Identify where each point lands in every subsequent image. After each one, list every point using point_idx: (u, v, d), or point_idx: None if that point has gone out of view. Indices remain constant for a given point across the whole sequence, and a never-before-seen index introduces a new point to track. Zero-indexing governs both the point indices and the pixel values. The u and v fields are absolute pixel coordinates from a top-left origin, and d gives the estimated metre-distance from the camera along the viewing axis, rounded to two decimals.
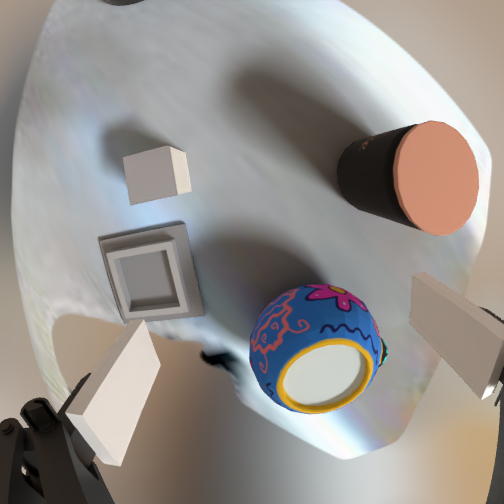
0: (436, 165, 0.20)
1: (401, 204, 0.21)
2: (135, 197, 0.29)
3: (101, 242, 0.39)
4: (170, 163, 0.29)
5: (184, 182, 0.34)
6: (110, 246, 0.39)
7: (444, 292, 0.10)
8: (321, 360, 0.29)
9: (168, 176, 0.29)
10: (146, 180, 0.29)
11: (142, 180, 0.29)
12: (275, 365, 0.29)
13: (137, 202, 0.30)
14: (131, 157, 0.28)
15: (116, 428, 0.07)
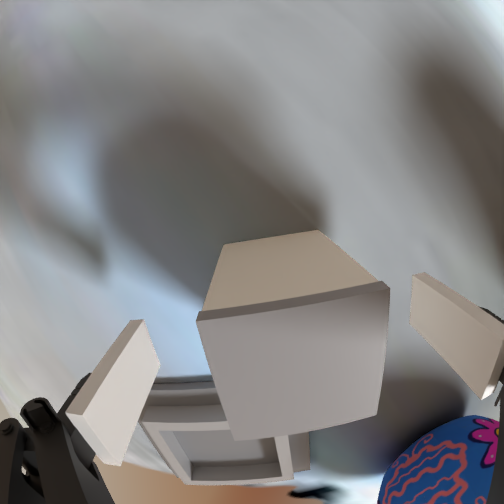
0: None
1: None
2: (252, 428, 0.09)
3: None
4: (383, 345, 0.08)
5: None
6: None
7: (444, 292, 0.10)
8: None
9: (368, 380, 0.08)
10: (293, 394, 0.08)
11: (280, 394, 0.08)
12: None
13: (258, 436, 0.09)
14: (237, 325, 0.08)
15: (116, 428, 0.07)
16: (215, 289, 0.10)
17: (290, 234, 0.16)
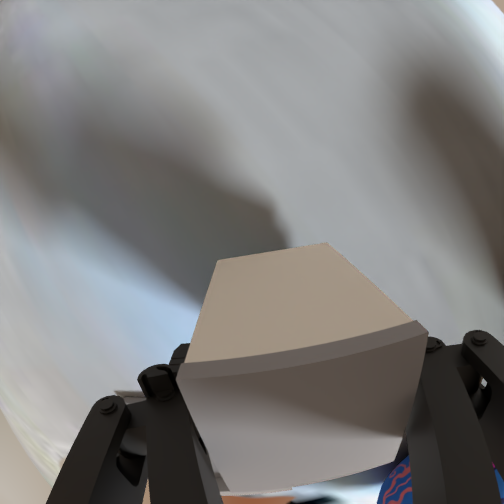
0: None
1: None
2: (250, 482, 0.07)
3: None
4: (412, 395, 0.06)
5: None
6: None
7: None
8: None
9: (390, 431, 0.06)
10: (300, 452, 0.06)
11: (285, 453, 0.06)
12: None
13: (257, 489, 0.07)
14: (230, 386, 0.05)
15: None
16: (204, 327, 0.08)
17: (295, 248, 0.14)
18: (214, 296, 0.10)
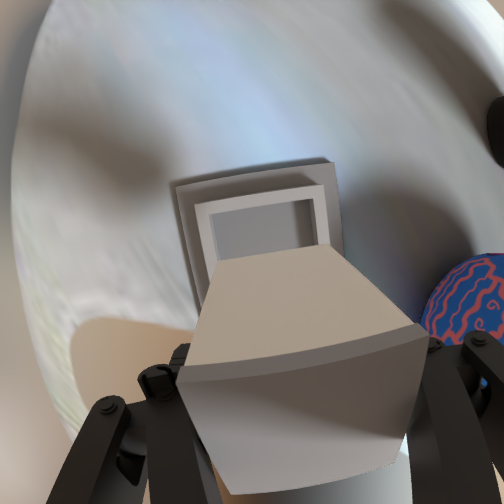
0: None
1: None
2: (251, 484, 0.07)
3: (179, 189, 0.24)
4: (413, 398, 0.06)
5: None
6: (197, 195, 0.24)
7: None
8: None
9: (391, 433, 0.06)
10: (301, 454, 0.06)
11: (285, 455, 0.06)
12: None
13: (258, 491, 0.07)
14: (230, 389, 0.05)
15: None
16: (204, 329, 0.08)
17: (295, 249, 0.14)
18: (214, 298, 0.10)
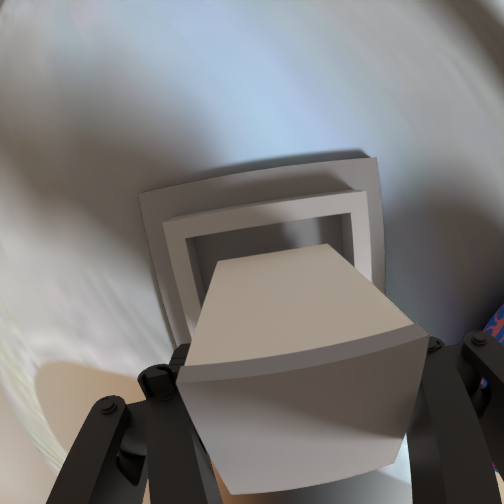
0: None
1: None
2: (251, 484, 0.07)
3: (143, 197, 0.15)
4: (412, 398, 0.06)
5: None
6: (170, 205, 0.15)
7: None
8: None
9: (391, 433, 0.06)
10: (301, 454, 0.06)
11: (285, 455, 0.06)
12: None
13: (258, 491, 0.07)
14: (230, 389, 0.05)
15: None
16: (204, 329, 0.08)
17: (295, 249, 0.14)
18: (214, 298, 0.10)
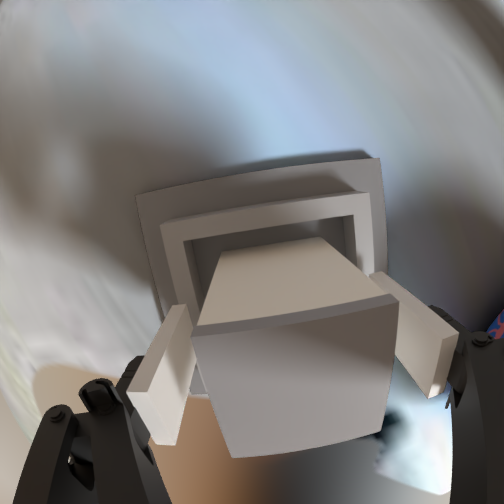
0: None
1: None
2: (250, 445, 0.08)
3: (140, 198, 0.15)
4: (390, 361, 0.07)
5: None
6: (168, 207, 0.15)
7: (395, 291, 0.11)
8: None
9: (374, 396, 0.08)
10: (294, 412, 0.08)
11: (280, 412, 0.08)
12: None
13: (256, 453, 0.08)
14: (235, 342, 0.07)
15: (171, 406, 0.09)
16: (212, 301, 0.09)
17: (291, 241, 0.15)
18: (220, 278, 0.11)
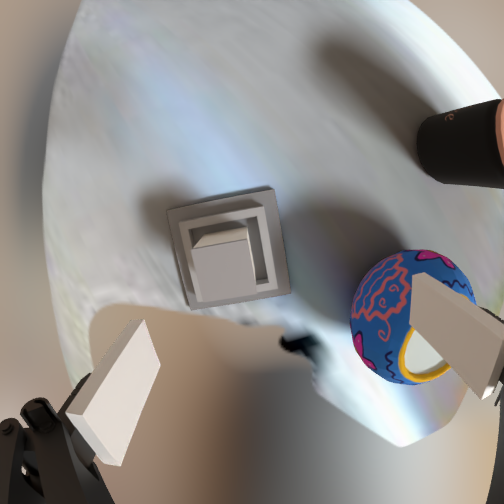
0: None
1: None
2: (209, 294, 0.28)
3: (168, 212, 0.35)
4: (250, 260, 0.28)
5: (253, 266, 0.33)
6: (181, 215, 0.36)
7: (444, 292, 0.10)
8: None
9: (248, 274, 0.28)
10: (221, 277, 0.28)
11: (217, 277, 0.28)
12: (400, 329, 0.25)
13: (211, 299, 0.29)
14: (202, 250, 0.27)
15: (116, 428, 0.07)
16: (197, 244, 0.30)
17: (234, 229, 0.36)
18: (201, 240, 0.32)
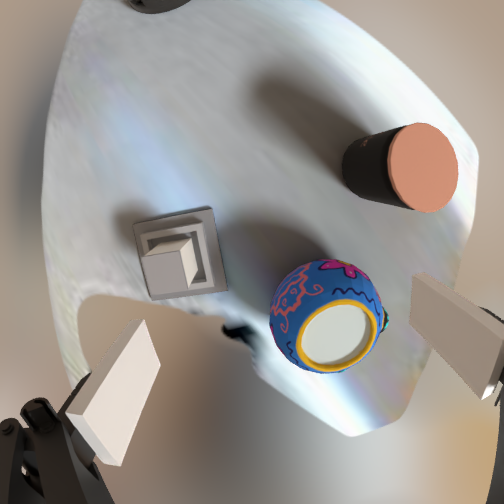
0: (421, 157, 0.27)
1: (394, 187, 0.28)
2: (154, 289, 0.39)
3: (134, 225, 0.45)
4: (181, 265, 0.38)
5: (192, 269, 0.43)
6: (143, 228, 0.45)
7: (444, 292, 0.10)
8: (333, 320, 0.36)
9: (180, 275, 0.38)
10: (162, 277, 0.38)
11: (159, 277, 0.38)
12: (295, 324, 0.35)
13: (156, 292, 0.39)
14: (149, 258, 0.37)
15: (116, 428, 0.07)
16: (148, 253, 0.40)
17: None
18: (153, 249, 0.42)
